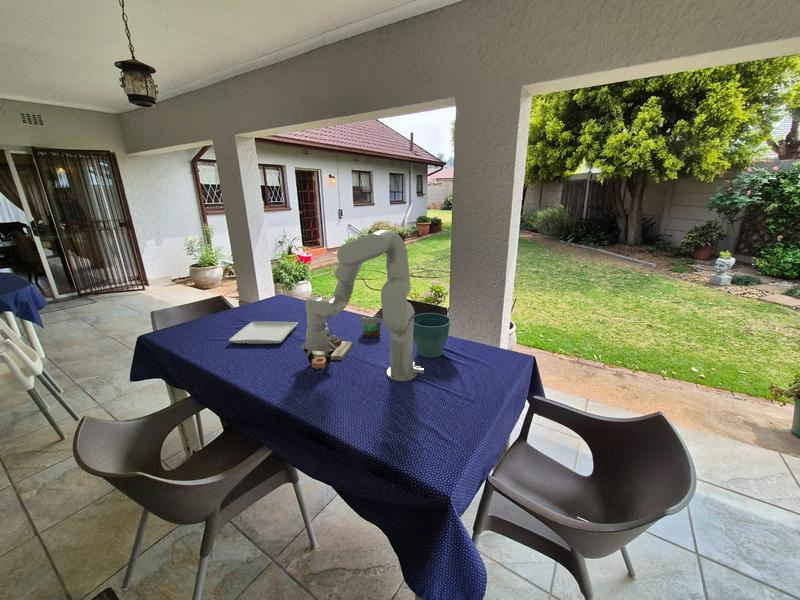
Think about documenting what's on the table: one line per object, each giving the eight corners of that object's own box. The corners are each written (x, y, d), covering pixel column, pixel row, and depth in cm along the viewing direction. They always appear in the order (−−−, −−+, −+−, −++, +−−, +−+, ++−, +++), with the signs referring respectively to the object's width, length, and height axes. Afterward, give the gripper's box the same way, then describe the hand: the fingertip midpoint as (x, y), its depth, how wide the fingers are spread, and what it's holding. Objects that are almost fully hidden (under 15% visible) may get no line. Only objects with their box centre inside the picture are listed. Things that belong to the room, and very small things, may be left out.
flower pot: (447, 363, 150) (449, 327, 145) (408, 359, 153) (408, 325, 148) (450, 346, 167) (451, 314, 162) (414, 343, 170) (414, 311, 165)
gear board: (352, 345, 168) (352, 333, 167) (341, 360, 153) (341, 347, 151) (322, 343, 171) (321, 331, 169) (308, 357, 156) (307, 344, 154)
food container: (356, 335, 181) (355, 317, 178) (363, 331, 186) (362, 314, 183) (376, 339, 175) (375, 321, 173) (382, 335, 181) (381, 318, 178)
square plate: (282, 347, 168) (281, 339, 167) (228, 346, 169) (227, 339, 168) (299, 327, 194) (298, 320, 193) (252, 327, 195) (251, 320, 194)
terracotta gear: (330, 361, 152) (330, 357, 151) (324, 369, 145) (324, 364, 144) (315, 360, 153) (315, 355, 152) (309, 368, 146) (308, 363, 146)
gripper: (339, 323, 146) (341, 360, 151) (301, 321, 149) (305, 357, 154) (333, 330, 139) (335, 368, 144) (293, 327, 142) (297, 365, 147)
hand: (319, 362), depth 149 cm, fingers closed on terracotta gear, 7 cm apart
